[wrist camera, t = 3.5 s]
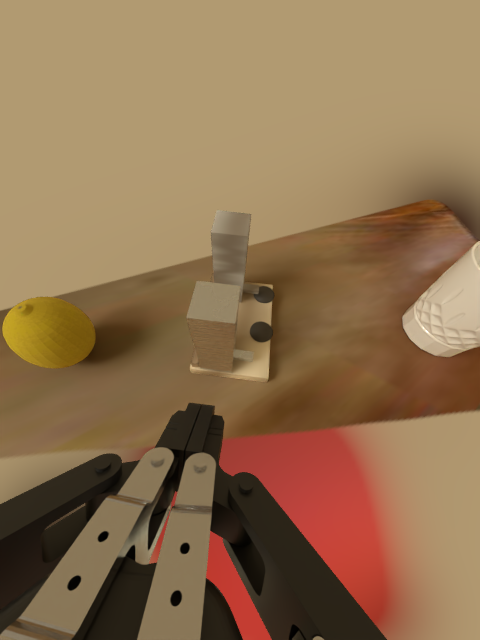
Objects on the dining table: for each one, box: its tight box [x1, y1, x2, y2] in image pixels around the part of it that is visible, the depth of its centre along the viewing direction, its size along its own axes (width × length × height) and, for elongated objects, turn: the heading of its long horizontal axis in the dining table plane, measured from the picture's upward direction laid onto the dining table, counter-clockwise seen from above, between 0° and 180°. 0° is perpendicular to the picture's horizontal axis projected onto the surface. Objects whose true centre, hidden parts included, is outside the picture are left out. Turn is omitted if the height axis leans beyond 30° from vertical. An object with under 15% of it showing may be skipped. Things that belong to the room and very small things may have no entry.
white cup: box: [402, 241, 480, 357], centre depth 23 cm, size 8×8×10 cm
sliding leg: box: [186, 281, 254, 373], centre depth 18 cm, size 5×3×9 cm, turn 84°
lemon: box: [2, 297, 96, 368], centre depth 20 cm, size 6×6×8 cm
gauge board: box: [190, 210, 274, 382], centre depth 21 cm, size 8×12×10 cm, turn 174°
